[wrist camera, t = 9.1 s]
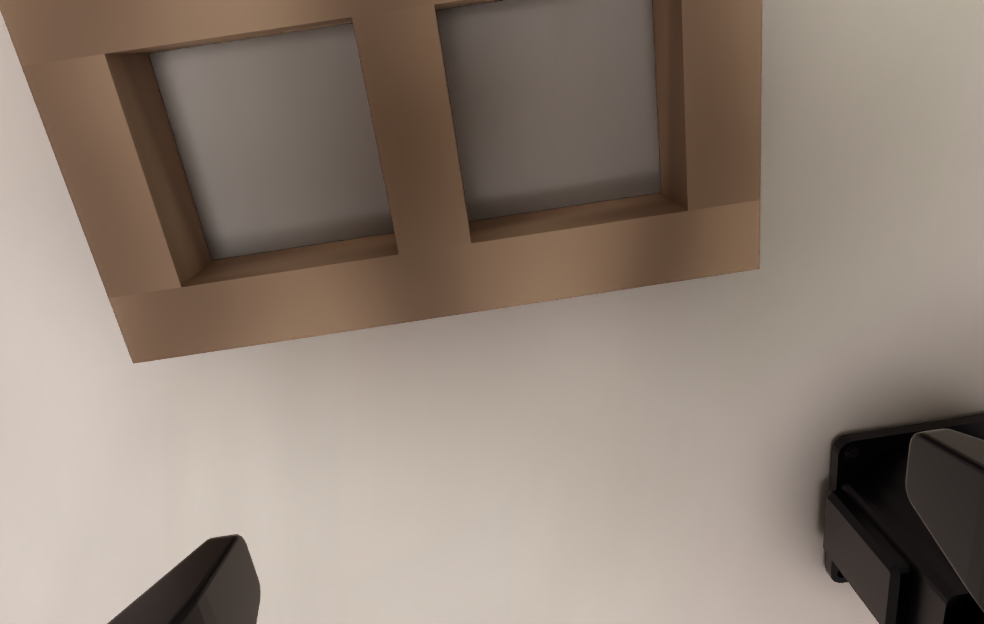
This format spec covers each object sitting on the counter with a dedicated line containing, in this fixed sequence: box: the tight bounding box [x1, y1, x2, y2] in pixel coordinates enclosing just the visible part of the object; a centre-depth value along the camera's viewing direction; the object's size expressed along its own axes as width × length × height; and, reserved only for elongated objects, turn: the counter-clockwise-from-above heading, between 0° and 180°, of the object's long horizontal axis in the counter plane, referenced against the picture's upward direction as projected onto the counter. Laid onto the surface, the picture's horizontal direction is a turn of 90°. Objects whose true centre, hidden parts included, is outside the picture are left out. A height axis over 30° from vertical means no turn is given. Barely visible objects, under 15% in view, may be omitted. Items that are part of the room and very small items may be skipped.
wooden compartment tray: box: [0, 0, 762, 363], centre depth 18 cm, size 18×10×2 cm, turn 98°
